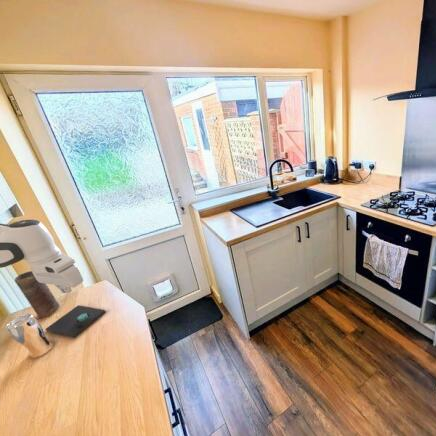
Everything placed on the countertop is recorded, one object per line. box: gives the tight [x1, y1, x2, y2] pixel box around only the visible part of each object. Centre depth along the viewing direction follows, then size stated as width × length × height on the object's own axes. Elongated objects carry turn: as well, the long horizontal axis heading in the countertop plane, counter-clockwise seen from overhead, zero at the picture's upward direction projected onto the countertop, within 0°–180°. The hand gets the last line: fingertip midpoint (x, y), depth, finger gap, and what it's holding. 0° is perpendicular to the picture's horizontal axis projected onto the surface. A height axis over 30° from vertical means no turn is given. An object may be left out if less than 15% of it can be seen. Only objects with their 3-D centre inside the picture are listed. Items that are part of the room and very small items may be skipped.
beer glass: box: [5, 312, 54, 359], centre depth 87 cm, size 7×7×15 cm
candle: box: [14, 270, 60, 318], centre depth 105 cm, size 8×7×20 cm
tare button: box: [78, 313, 88, 322], centre depth 99 cm, size 3×3×2 cm
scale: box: [44, 305, 106, 339], centre depth 101 cm, size 16×13×3 cm
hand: (67, 292), depth 93 cm, fingers closed
